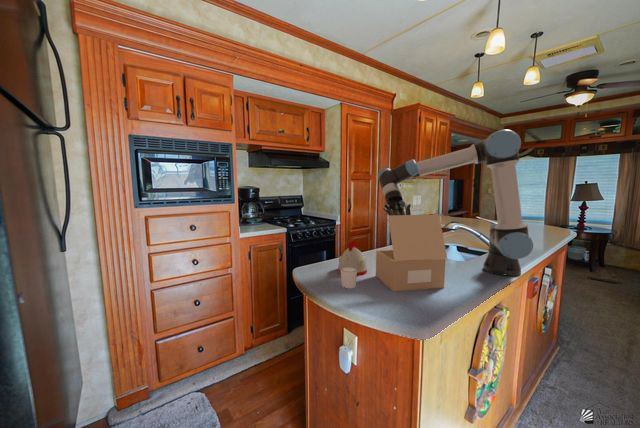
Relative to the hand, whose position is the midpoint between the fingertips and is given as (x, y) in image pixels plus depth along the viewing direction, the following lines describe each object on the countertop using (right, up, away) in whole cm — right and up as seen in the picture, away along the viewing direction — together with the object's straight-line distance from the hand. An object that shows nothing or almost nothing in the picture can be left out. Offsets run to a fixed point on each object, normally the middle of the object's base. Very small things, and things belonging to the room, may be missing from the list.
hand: (408, 236), depth 111 cm
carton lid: (+2, 0, -5) cm, 6 cm away
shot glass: (-25, -21, -2) cm, 33 cm away
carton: (+1, -20, +3) cm, 20 cm away
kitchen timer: (-21, -19, +17) cm, 33 cm away
